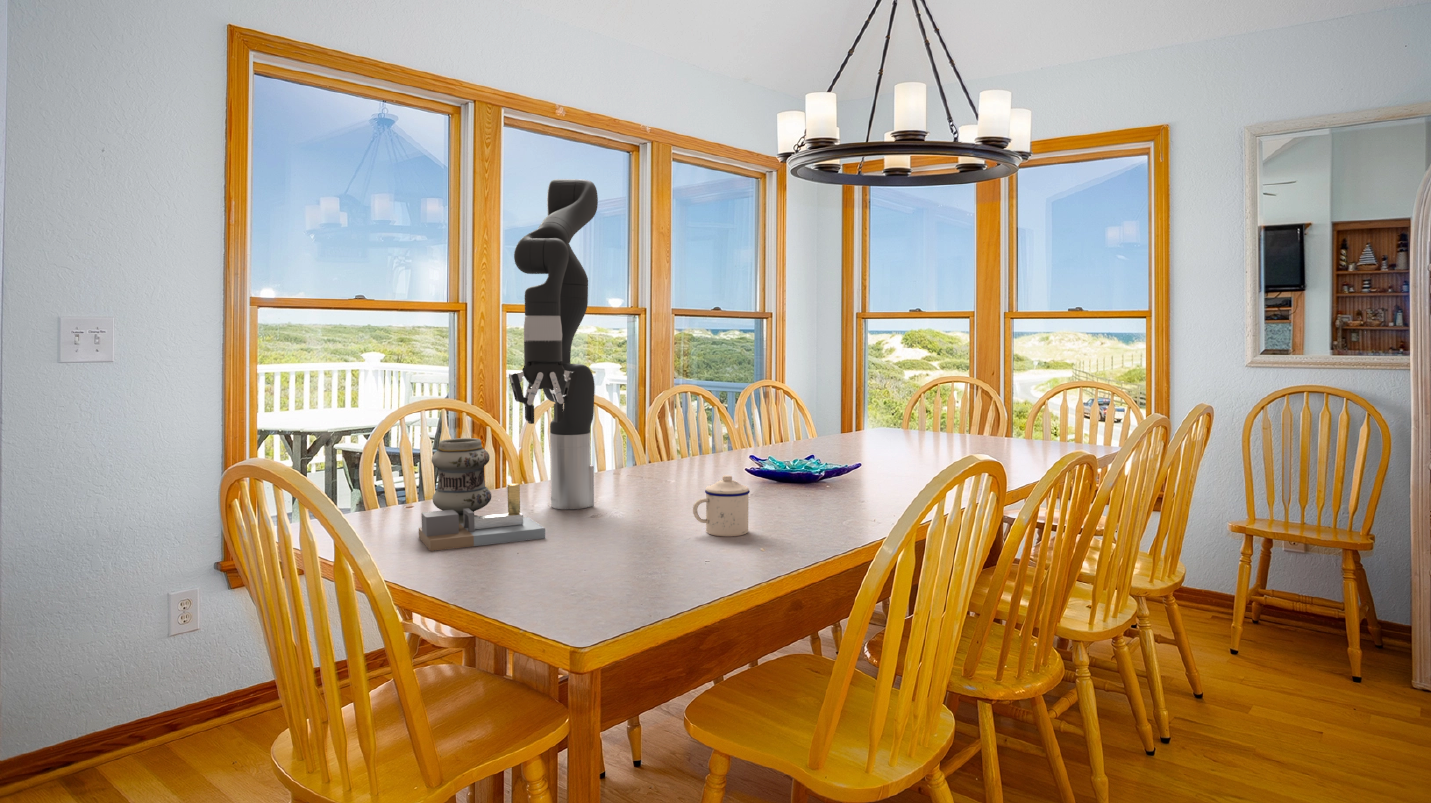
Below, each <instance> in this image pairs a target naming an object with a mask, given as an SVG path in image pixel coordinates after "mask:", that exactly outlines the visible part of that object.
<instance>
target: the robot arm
mask: <svg viewBox="0 0 1431 803" xmlns="http://www.w3.org/2000/svg"><path fill="white" fill-rule="evenodd" d="M546 194H547V195H546V205H547V206H546V207H547V210H546V211H547V216H546V217H545V218H544V219H543V220H542V222H541V223H540V225H539V226H538V228H536V229H534V230H533V231H530V232H529V233H527V234H526V235H524V236H523V237H521V238H520V240H519V241H518V242H517V244H516V246H515V248H514V252H513V253H514V254H513V259H514V260H513V261H514V264H515V265H516V267H517V269H518V270H520V272H522V273H524V274H528V275H547V279H546V280H545V281H544V283H543V282H542V283H541V284H538V285H532V286H529V287H526V289H525V291H524V321H523V322H524V324H523V354H524V355H523V358H524V361H523V362H524V365H523V368H522V370H521V371H517V372H510V373H509V375H508V378H509V382H510V384H511V385H510V386H511V388H512V392H513V397H514V401H515V402H516V403H517V402H518V403H520V404H523V406H524V419H525V421H526V422H528V424H530V425H533V424H535V405H533V404H534V401H535V398H536V395H537V394H538V391H539V390H543V393H544V396H545V398H546V399H547V400H549V401H550V402H553V419H552V420H551V421H550V424H549V441H550V442H549V444H550V445H549V446H550V449H549V450H550V451H549V452H550V454H549V455H550V505H551V506H550V508H553V509H557V510H558V509H559V510H579V509H580V510H581V509H586V508H589V507H595V478H594V477H595V471H594V470H595V468H594V465H593V464H592V463H591V462H592V459H591V452H592V451H591V426H592V423H593V420H594V416H595V415H594V412H595V408H594V407H595V388H596V387H595V378H594V374H593V372H592V370H591V368H589V366H587V365H585V364H581V363H571V354H572V353H571V352H572V346H573V345H572V344H573V340H574V337H575V336H576V333H577V331H578V329H579V328H580V325H581V324H582V321H583V319H584V317H585V316H586V312H587V308H588V302H589V301H588V300H589V278H588V275H587V272H586V271H585V270H586V269H584V267H583V265H582V263H581V262H580V260H579V259H578V257H577V255H576V254H575V252H574V249H572V246H571V245H570V243H571V241H572V239H573V237H574V236H575V235H576V234H577V233H578V232H579V231H581V229H582V228H584V227H585V225H587V224H588V223H589V222H590V221H592V220H593V218H594V217H595V215H596V214H597V211H598V202H599V201H598V200H599V197H598V191H597V187H596V185H595V183H594V182H592V181H591V180H588V179H584V178H583V179H577V178H574V179H573V178H572V179H570V178H569V179H567V178H564V179H563V178H561V179H560V178H555V179H552V180H551V181H550V182H549V184H548V186H547V193H546ZM523 377H524V378H525V379H526V381H527V382H528V385H527V389H526V391H525V392H526V393H525V396H524V392H523V388H522V386H521V383H522V382H523Z"/></svg>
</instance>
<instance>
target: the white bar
mask: <svg viewBox="0 0 1431 803" xmlns="http://www.w3.org/2000/svg"><path fill="white" fill-rule="evenodd" d="M520 485H521V484H520V483H508V484H507V513H501V514H488V515H477V517H474V525H475V529H483V528H492V527H502V526H512V525H521V524H523V517H524V514H523V513H522V512H521V486H520Z"/></svg>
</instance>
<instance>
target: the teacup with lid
mask: <svg viewBox="0 0 1431 803" xmlns="http://www.w3.org/2000/svg"><path fill="white" fill-rule="evenodd" d="M721 479H722V480H721ZM721 479H720V480H718V481H716V482H715V483H713V484H710V485H707V486H706V487H705V490H704V493H705V497H704V498H698V500H696V501H695V502H694V504H693V506H692V514H693V516H694V518H695V520H697V521H698V522H699V523H702V524H705V532H706V533H707V534H708V535H712V536H716V537H724V538H725V537H728V538H729V537H739V536H743V535H746V534H747V533H748V532H749V494H750V488H749V487H748V486H747V485H744V484H741V483H740V482H738V481H737V480H733V476H732V475H731V474H724V475H723V476H722V478H721ZM702 503H705V518H701V517H700V516H699V512H698V508H699V506H700V504H701V505H702Z"/></svg>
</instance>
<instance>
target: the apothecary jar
mask: <svg viewBox="0 0 1431 803" xmlns="http://www.w3.org/2000/svg"><path fill="white" fill-rule="evenodd" d="M489 461H490V454H489V451H487V450H486V449H484V448H483V445H482V440H481V439H480V438H475V437H473V438H472V437H471V438H470V437H461V438H459V437H458V438H449V439H448V438H447V439H442V440H440V441H439V443H438V450H436V451H435V452H434V453H433V455H432V456H431V463H432V465H433V466H434V467H435V468H437V484H438V485H437V486H438V487H437V490H436V491H435V492H434V493H433V496H432V503H433V505H434V506H435V507H436V508H437V509H439V511H444V510H454V511H455V512H456V513H458V514H459V524H461V523H464V519H463V509H465V508H469V509H470V510H471V511H473V512H474V513H475V511H478V510H481V509H483V508H485V507H486V506H487V505H488V504H489V503H490V502H491V501H492V492H491V490H490V489H489V488H488V487H487V486H486V481H485V466H486V465H487V464H488V463H489ZM477 516H478V515H476V514H474V517H477Z"/></svg>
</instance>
